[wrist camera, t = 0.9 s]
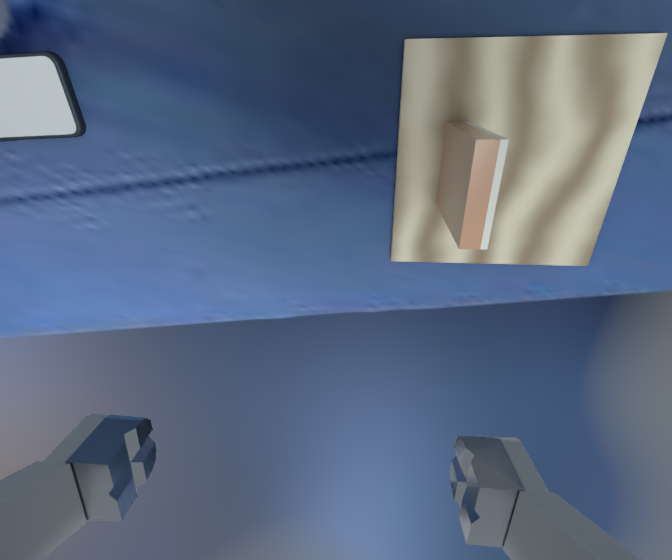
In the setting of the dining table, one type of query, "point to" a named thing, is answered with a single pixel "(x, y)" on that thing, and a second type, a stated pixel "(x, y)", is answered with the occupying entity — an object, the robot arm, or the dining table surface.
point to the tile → (470, 182)
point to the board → (521, 138)
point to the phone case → (37, 98)
